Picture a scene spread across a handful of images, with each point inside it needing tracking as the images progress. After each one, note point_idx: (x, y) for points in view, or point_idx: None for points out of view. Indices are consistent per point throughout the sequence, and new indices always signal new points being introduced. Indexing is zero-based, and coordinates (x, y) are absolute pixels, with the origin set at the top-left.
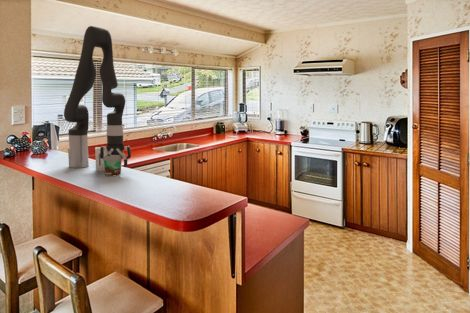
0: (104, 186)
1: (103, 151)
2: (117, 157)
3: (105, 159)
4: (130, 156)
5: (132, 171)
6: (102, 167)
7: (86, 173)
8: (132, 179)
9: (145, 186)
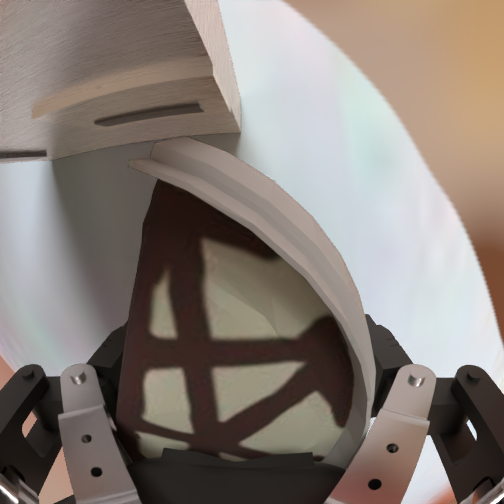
0: None
1: (13, 456)
2: None
3: None
4: (463, 425)
5: (388, 162)
6: (73, 148)
7: (26, 251)
8: (370, 420)
9: None
